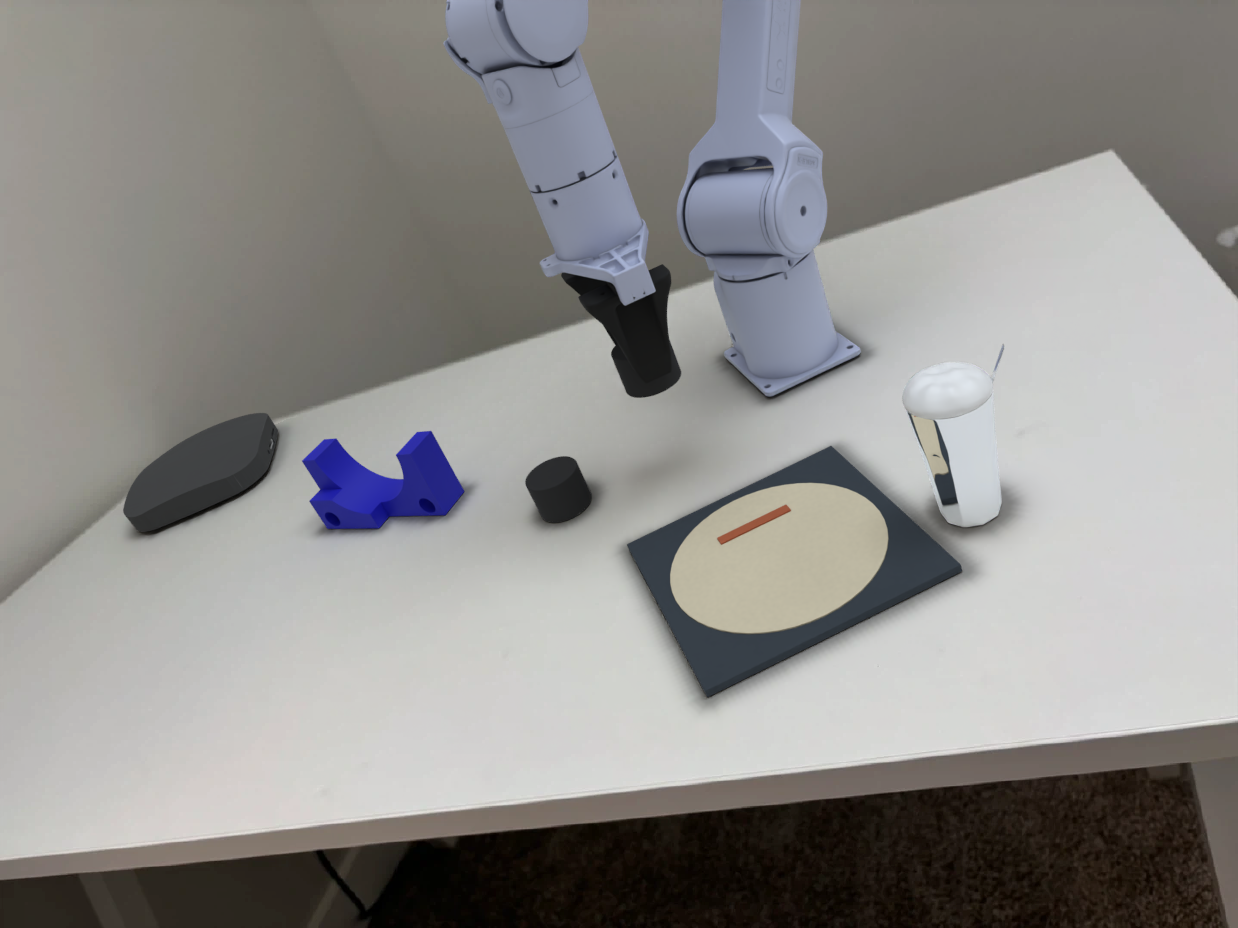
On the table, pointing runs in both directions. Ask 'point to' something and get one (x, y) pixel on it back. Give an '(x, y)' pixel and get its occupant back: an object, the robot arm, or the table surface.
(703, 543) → the board
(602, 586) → the table surface
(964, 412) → the milkshake
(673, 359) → the dot
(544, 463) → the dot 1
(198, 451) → the media streaming box
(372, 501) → the cable clip
